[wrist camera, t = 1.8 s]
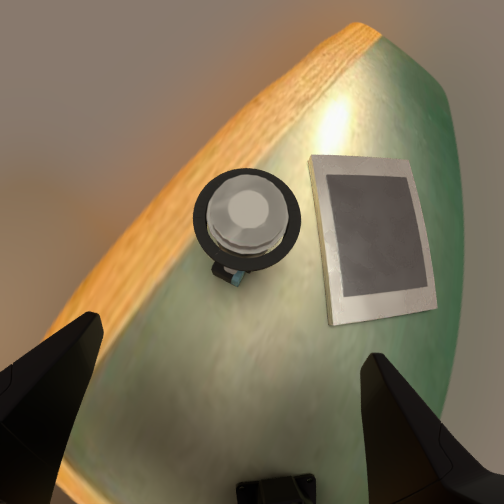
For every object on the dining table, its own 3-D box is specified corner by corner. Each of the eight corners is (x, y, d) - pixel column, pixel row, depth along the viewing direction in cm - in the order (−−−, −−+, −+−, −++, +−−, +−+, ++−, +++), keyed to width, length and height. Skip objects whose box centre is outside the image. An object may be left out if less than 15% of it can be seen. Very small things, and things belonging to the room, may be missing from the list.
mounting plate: (429, 309, 24) (438, 307, 22) (328, 325, 23) (334, 325, 22) (402, 165, 27) (409, 159, 25) (307, 161, 26) (311, 153, 25)
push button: (234, 197, 25) (237, 124, 15) (293, 227, 25) (331, 168, 15) (194, 269, 23) (169, 232, 14) (256, 302, 23) (275, 287, 13)
